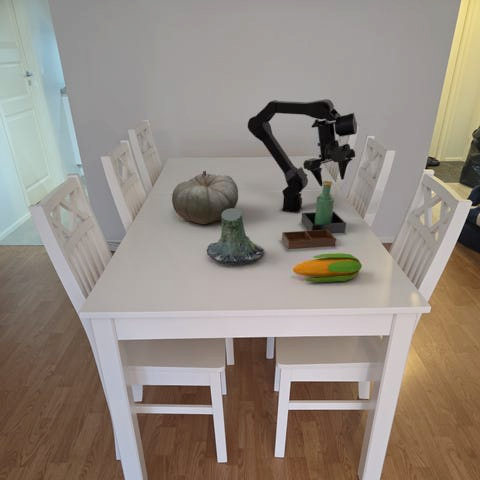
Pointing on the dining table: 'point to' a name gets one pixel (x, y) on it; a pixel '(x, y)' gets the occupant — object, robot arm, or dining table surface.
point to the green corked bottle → (324, 205)
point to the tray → (334, 227)
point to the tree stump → (234, 241)
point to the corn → (329, 267)
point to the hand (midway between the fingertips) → (331, 182)
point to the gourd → (205, 197)
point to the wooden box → (308, 239)
